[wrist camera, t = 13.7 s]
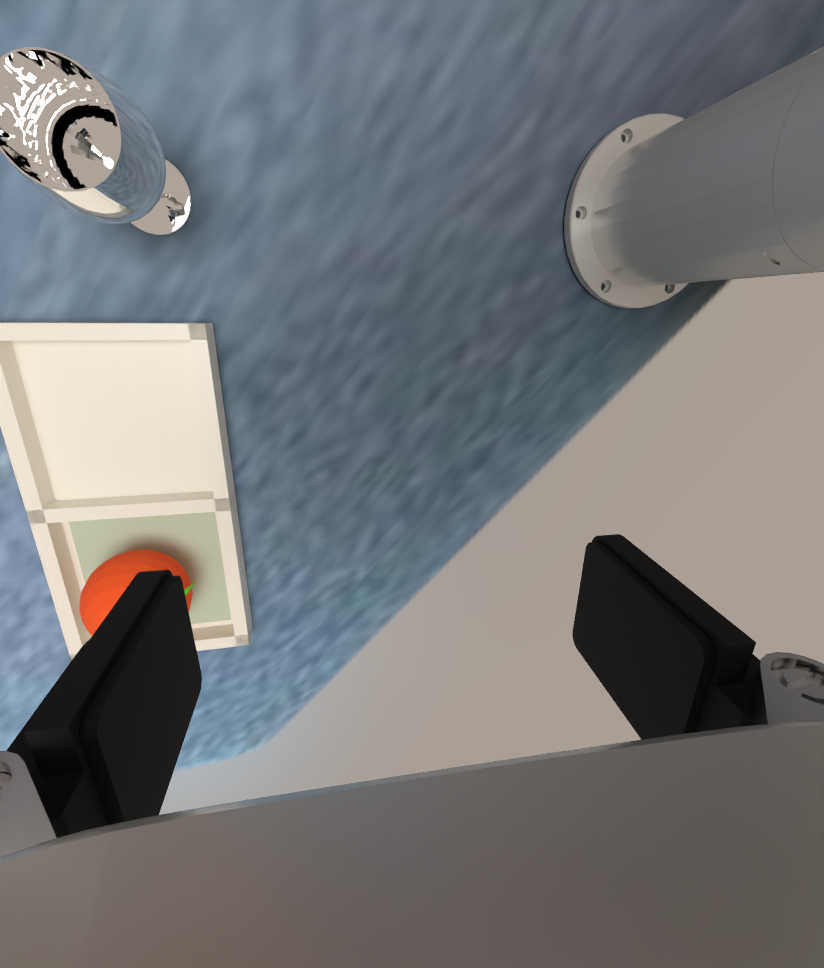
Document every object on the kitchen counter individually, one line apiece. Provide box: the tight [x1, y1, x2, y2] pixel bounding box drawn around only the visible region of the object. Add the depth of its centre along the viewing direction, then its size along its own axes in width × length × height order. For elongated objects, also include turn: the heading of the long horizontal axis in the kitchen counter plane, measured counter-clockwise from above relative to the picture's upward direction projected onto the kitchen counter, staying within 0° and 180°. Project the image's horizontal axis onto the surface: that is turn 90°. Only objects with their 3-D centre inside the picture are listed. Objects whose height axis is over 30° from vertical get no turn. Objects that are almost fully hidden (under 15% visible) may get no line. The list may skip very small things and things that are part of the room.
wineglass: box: [0, 47, 192, 235], centre depth 23 cm, size 6×6×12 cm
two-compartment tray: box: [0, 322, 253, 661], centre depth 34 cm, size 13×25×2 cm, turn 0°
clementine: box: [80, 549, 196, 636], centre depth 33 cm, size 8×7×7 cm
